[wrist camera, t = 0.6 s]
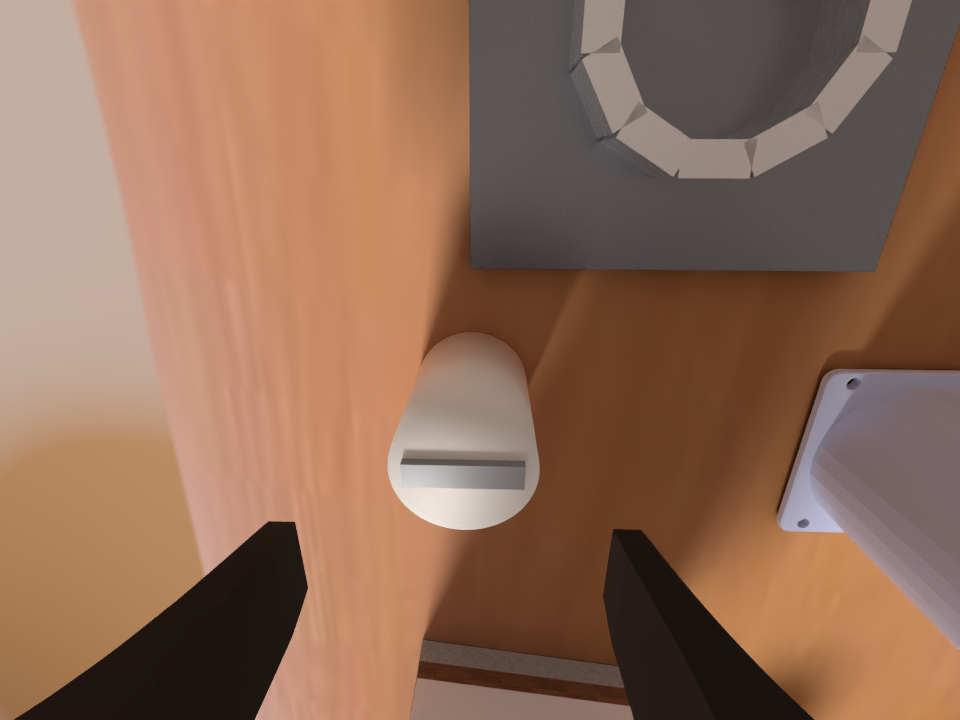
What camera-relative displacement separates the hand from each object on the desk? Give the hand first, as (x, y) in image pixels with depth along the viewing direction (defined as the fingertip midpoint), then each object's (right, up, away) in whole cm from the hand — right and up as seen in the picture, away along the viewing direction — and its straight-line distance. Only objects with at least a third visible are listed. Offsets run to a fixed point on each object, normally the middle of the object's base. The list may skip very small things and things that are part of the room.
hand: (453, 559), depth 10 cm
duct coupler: (0, +4, +9) cm, 9 cm away
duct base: (+7, +15, +4) cm, 17 cm away
